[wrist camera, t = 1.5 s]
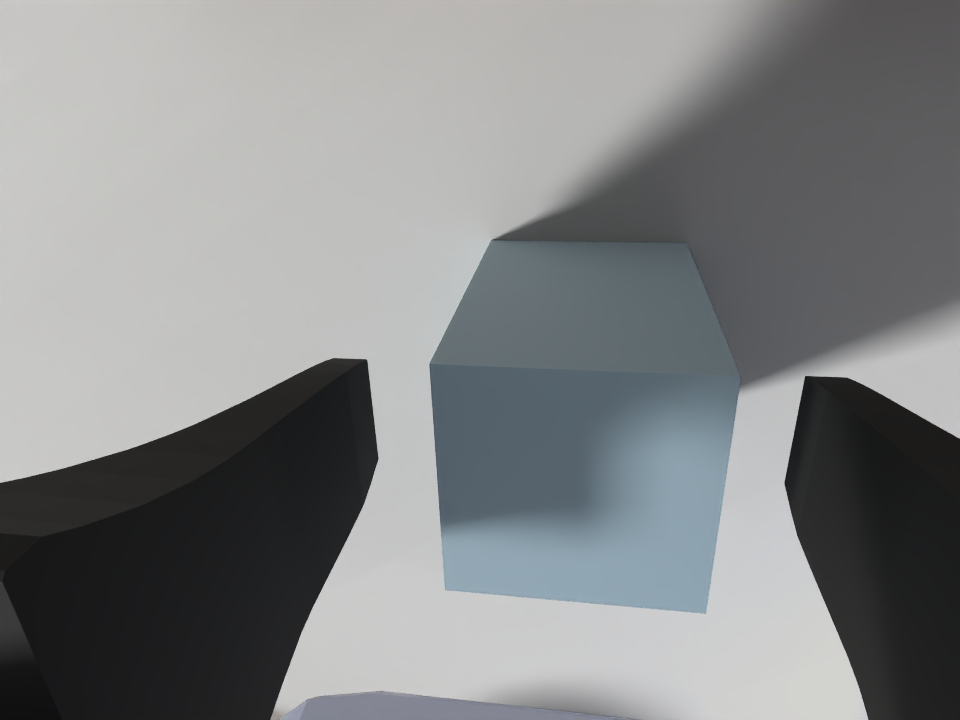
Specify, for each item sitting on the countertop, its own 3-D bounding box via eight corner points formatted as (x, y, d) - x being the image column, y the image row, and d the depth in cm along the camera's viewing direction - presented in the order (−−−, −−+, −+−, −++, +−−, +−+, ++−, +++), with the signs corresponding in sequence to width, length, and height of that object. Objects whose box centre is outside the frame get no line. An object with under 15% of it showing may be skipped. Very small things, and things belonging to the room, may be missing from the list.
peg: (686, 242, 14) (740, 376, 9) (669, 414, 16) (705, 613, 10) (491, 240, 15) (429, 363, 9) (495, 405, 16) (445, 590, 11)
